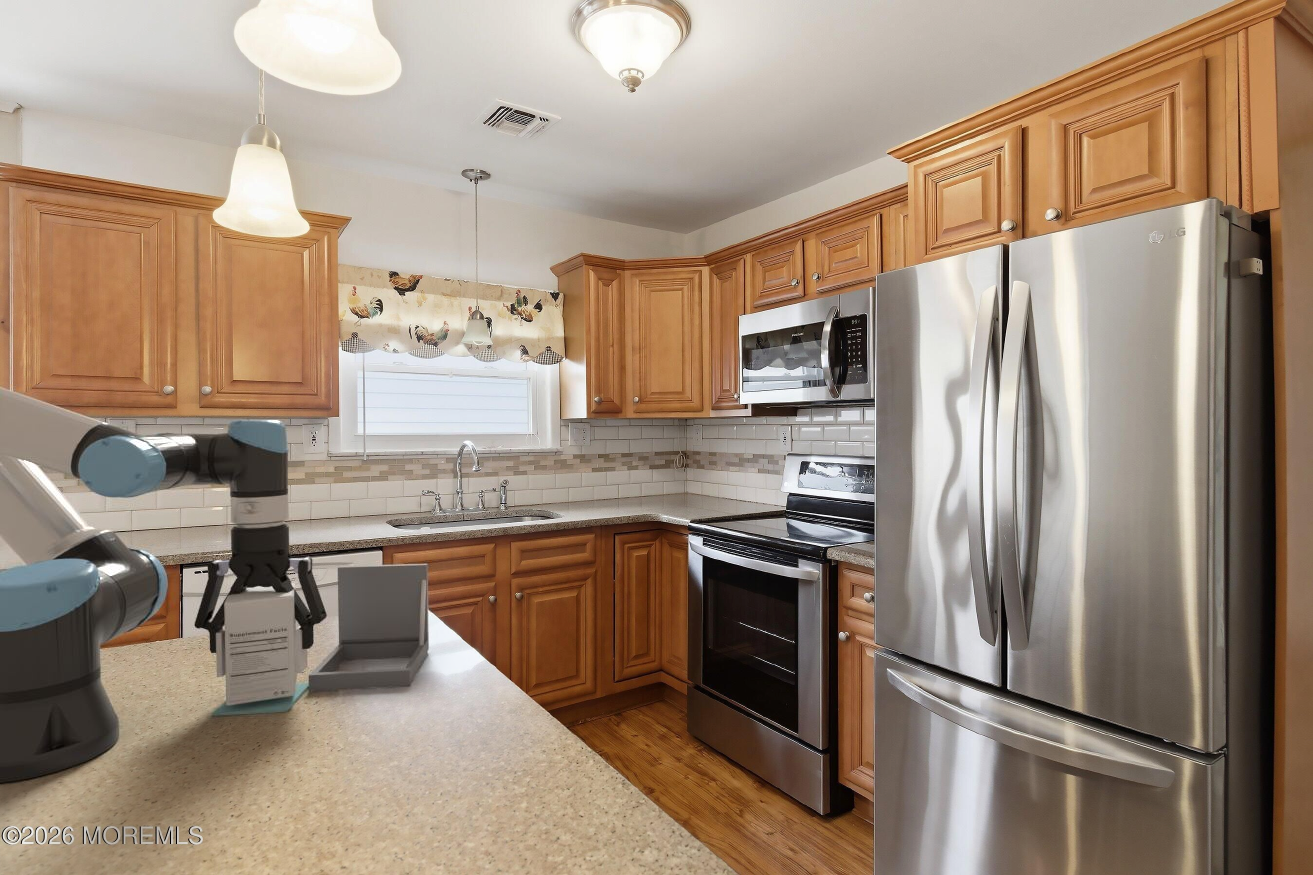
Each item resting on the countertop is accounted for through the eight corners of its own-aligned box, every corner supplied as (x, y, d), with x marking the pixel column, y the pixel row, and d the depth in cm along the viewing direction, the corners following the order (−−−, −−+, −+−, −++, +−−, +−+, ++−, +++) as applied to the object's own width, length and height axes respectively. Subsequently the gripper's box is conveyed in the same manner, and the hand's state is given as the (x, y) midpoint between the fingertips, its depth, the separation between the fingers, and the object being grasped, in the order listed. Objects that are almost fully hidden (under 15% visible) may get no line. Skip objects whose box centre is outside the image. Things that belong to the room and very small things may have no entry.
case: (308, 691, 108) (306, 588, 108) (340, 656, 124) (339, 566, 124) (409, 685, 110) (408, 584, 110) (428, 652, 126) (427, 563, 126)
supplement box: (232, 684, 107) (230, 587, 107) (298, 675, 111) (296, 581, 111) (223, 707, 99) (222, 601, 99) (295, 696, 103) (294, 594, 102)
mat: (211, 715, 100) (211, 713, 100) (243, 688, 109) (243, 686, 109) (286, 711, 101) (286, 708, 101) (311, 685, 111) (311, 682, 111)
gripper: (162, 529, 99) (166, 685, 100) (332, 525, 102) (335, 677, 103) (190, 521, 107) (193, 666, 107) (348, 518, 110) (350, 659, 110)
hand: (262, 671), depth 105 cm, fingers closed on supplement box, 10 cm apart
